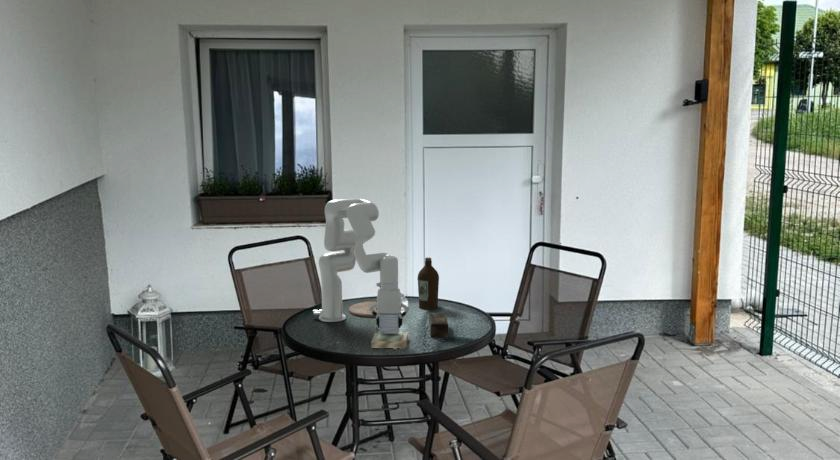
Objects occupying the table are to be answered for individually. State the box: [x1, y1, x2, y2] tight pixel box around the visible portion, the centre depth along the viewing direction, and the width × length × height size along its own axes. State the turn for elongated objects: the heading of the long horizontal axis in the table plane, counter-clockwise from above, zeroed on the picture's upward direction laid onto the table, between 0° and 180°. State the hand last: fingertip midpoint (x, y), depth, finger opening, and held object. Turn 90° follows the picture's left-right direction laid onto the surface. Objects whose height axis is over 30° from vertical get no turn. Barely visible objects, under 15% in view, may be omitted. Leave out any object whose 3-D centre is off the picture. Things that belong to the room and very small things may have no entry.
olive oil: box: [417, 257, 440, 310], centre depth 365 cm, size 11×11×25 cm
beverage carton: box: [428, 312, 449, 338], centre depth 324 cm, size 8×19×7 cm, turn 2°
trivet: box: [348, 300, 378, 318], centre depth 360 cm, size 25×25×2 cm
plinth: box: [370, 330, 409, 350], centre depth 307 cm, size 14×14×4 cm
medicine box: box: [378, 314, 400, 334], centre depth 306 cm, size 8×4×9 cm, turn 84°
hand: (389, 326), depth 306 cm, fingers closed on medicine box, 8 cm apart
